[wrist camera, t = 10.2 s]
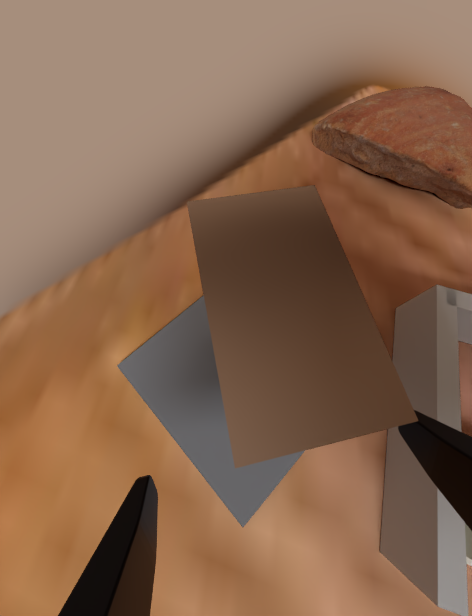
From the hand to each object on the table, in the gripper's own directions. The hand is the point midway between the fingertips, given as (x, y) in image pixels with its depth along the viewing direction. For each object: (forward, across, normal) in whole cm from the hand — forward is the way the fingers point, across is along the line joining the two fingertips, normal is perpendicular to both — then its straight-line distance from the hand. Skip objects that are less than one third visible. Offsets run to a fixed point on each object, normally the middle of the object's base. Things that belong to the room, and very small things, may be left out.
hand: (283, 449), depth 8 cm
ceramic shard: (+20, -21, -9) cm, 30 cm away
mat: (+8, 0, +3) cm, 9 cm away
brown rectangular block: (+8, 0, +2) cm, 8 cm away
